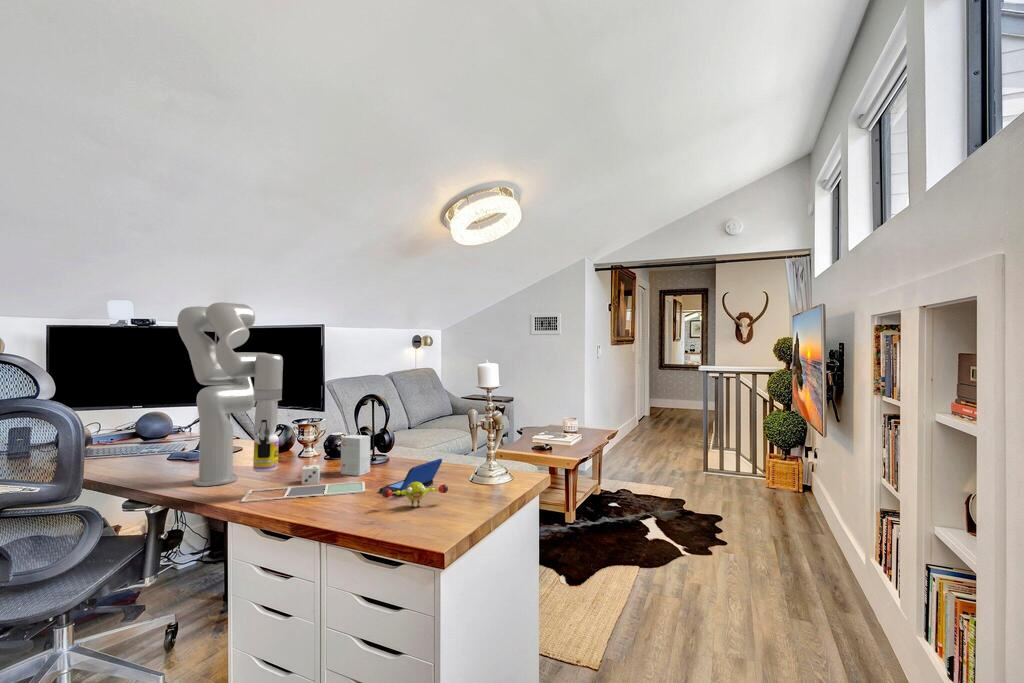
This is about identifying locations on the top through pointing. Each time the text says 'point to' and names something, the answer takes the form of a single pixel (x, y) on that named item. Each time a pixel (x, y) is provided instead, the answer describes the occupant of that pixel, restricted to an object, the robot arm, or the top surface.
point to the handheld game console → (416, 476)
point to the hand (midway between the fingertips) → (266, 454)
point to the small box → (355, 455)
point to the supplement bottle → (266, 463)
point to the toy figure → (414, 492)
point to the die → (310, 474)
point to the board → (316, 490)
